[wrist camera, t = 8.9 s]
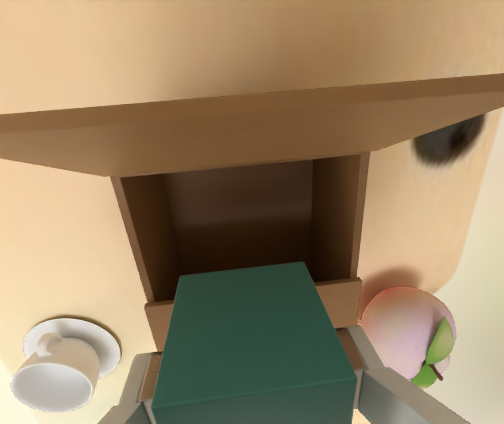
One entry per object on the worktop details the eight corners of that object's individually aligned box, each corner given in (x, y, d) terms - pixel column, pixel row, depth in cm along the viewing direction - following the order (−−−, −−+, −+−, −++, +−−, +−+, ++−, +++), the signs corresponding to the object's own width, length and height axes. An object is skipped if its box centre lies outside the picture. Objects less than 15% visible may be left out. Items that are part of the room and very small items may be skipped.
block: (198, 361, 12) (186, 507, 8) (179, 275, 10) (149, 408, 6) (303, 347, 12) (344, 481, 8) (304, 260, 10) (358, 378, 6)
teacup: (131, 371, 34) (118, 413, 30) (45, 383, 33) (20, 426, 29) (108, 309, 30) (89, 346, 26) (10, 320, 29) (-26, 360, 25)
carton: (150, 137, 23) (101, 174, 14) (317, 122, 24) (378, 147, 14) (185, 298, 30) (169, 393, 21) (313, 282, 31) (352, 367, 22)
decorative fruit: (346, 271, 31) (398, 349, 22) (418, 261, 31) (498, 333, 22) (343, 332, 35) (385, 420, 26) (406, 323, 35) (471, 406, 26)
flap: (103, 176, 14) (103, 168, 14) (376, 150, 15) (376, 142, 15) (-95, 141, 5) (-99, 121, 5) (565, 85, 6) (564, 67, 6)
